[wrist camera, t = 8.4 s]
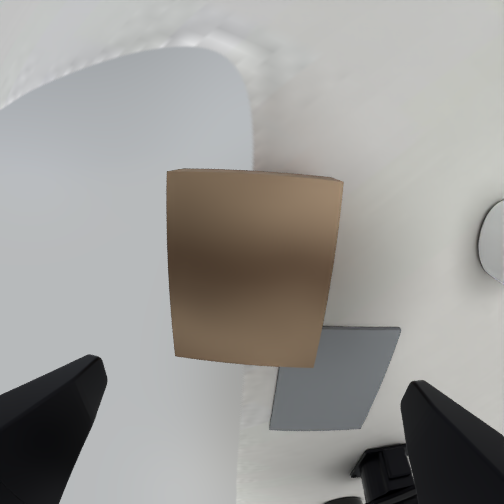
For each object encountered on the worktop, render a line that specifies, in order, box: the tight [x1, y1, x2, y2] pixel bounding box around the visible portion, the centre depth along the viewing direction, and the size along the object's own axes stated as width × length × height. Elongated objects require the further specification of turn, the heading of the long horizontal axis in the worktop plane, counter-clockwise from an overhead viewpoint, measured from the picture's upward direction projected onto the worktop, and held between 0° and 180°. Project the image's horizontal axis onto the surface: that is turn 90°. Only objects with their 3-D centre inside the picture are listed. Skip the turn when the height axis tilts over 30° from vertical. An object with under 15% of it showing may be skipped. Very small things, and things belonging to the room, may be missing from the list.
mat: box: [269, 326, 401, 431], centre depth 22 cm, size 12×9×1 cm
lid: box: [167, 169, 344, 368], centre depth 14 cm, size 9×7×2 cm
